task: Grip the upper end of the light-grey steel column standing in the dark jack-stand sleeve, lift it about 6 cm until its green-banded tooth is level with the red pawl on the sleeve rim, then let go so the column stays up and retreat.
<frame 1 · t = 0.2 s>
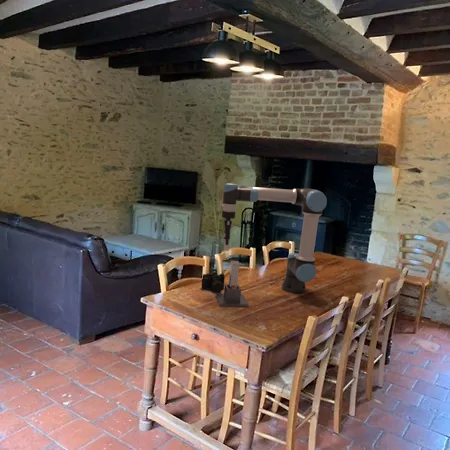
hand: (226, 247, 240), 28 cm above the table, fingers open, 13 cm apart
camera: (213, 290, 251), on the table
stand base: (231, 301, 235), on the table
column: (233, 280, 233), point 12 cm above the table, slide at 0.0 cm
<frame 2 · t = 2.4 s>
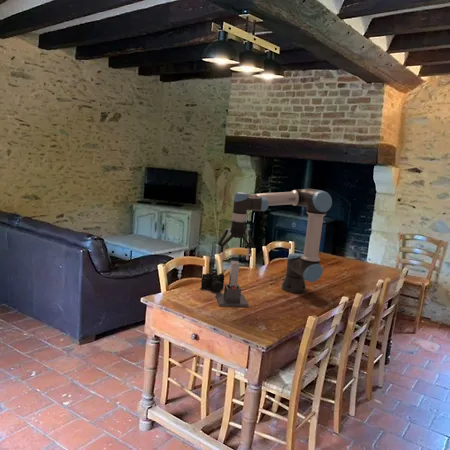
hand: (235, 258, 230), 25 cm above the table, fingers open, 13 cm apart
nothing on the table moved.
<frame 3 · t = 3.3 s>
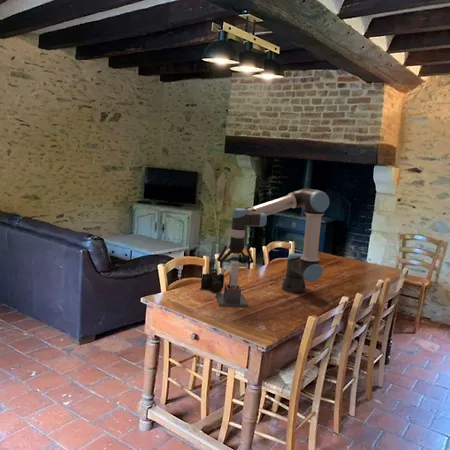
hand: (234, 274, 232), 16 cm above the table, fingers open, 13 cm apart
nothing on the table moved.
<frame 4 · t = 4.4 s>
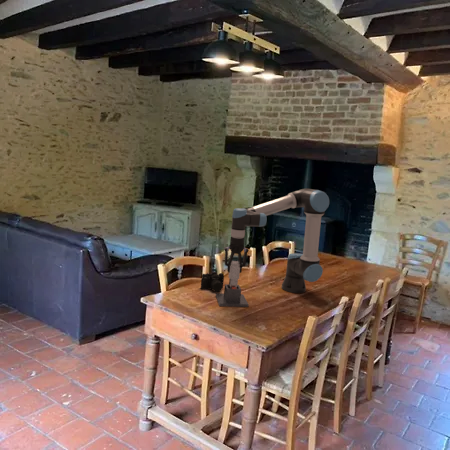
hand: (233, 277, 232), 14 cm above the table, fingers closed on column, 4 cm apart
column: (233, 280, 233), point 12 cm above the table, slide at 0.0 cm, touching gripper
everything else where it was.
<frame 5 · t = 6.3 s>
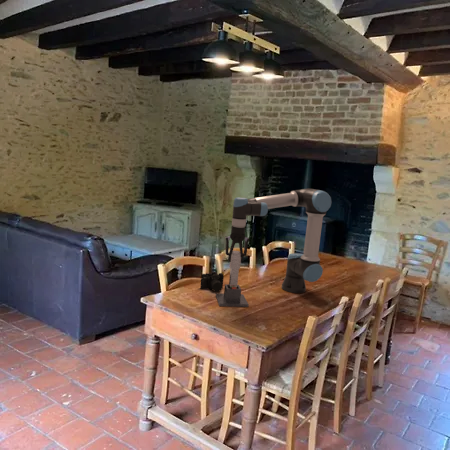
hand: (234, 267, 231), 20 cm above the table, fingers closed on column, 4 cm apart
column: (234, 270, 232), point 18 cm above the table, slide at 6.0 cm, touching gripper
everything else where it was.
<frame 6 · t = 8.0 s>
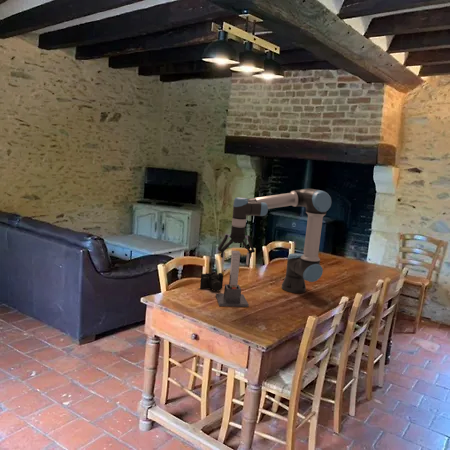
hand: (235, 263, 231), 22 cm above the table, fingers open, 13 cm apart
column: (234, 270, 232), point 18 cm above the table, slide at 6.0 cm
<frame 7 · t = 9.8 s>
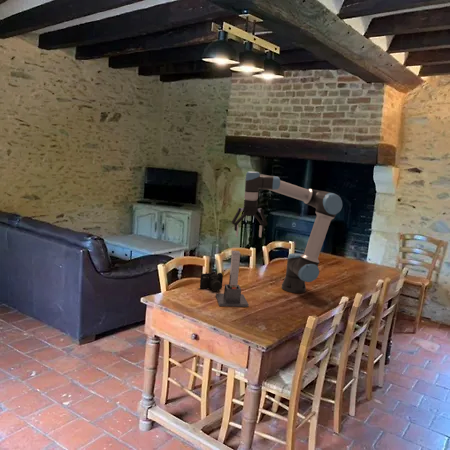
hand: (248, 236, 238), 36 cm above the table, fingers open, 13 cm apart
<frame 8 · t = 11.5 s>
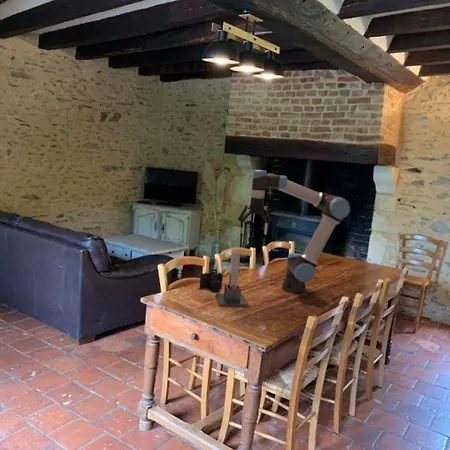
hand: (253, 233, 243), 37 cm above the table, fingers open, 13 cm apart
at the end: column slide at 6.0 cm; the gripper is holding nothing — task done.
